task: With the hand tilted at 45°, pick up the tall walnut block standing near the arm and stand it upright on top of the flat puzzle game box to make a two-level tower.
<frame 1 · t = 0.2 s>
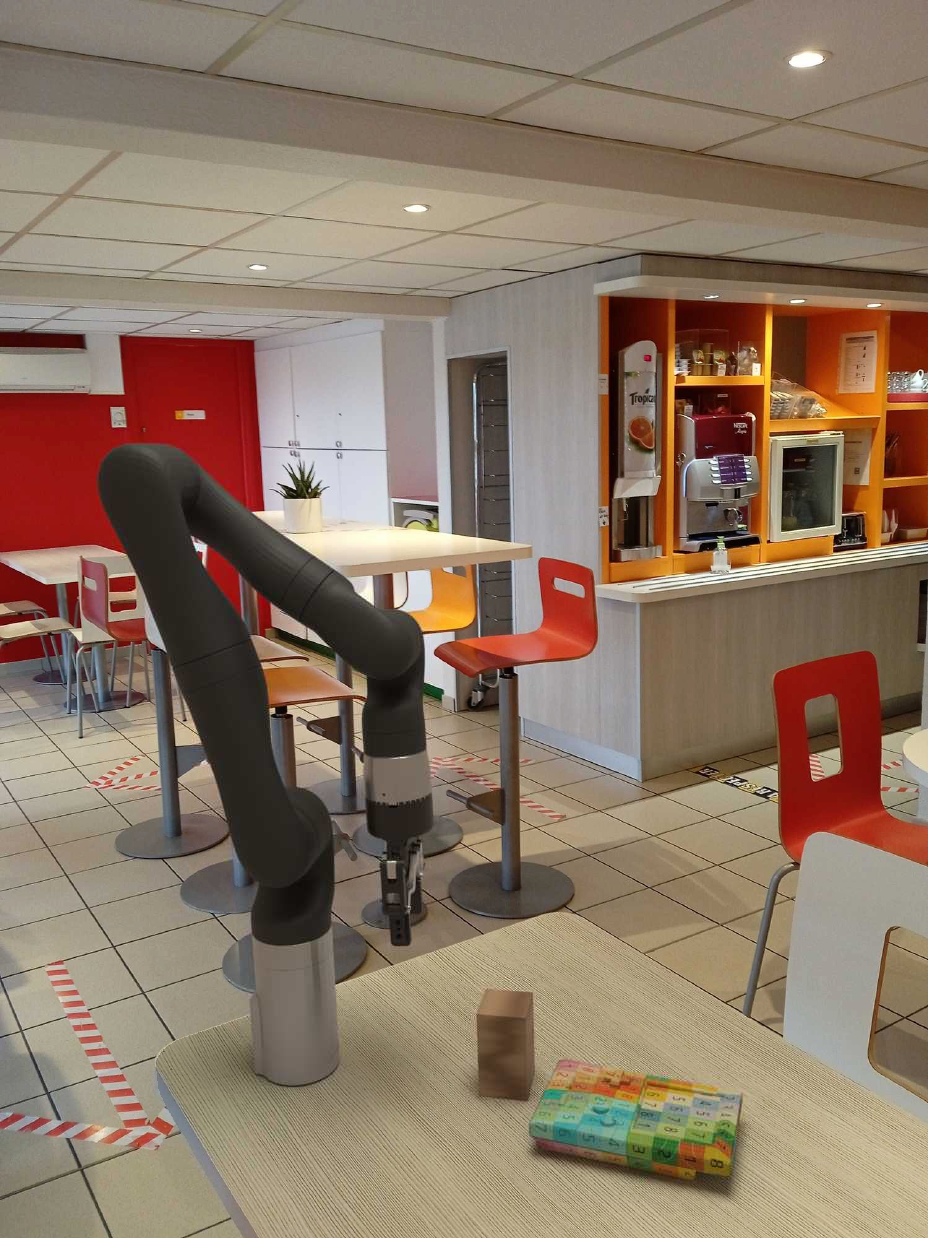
hand: (407, 928, 117), 18 cm above the table, tool pointing down, fingers open, 8 cm apart
puzzle game: (638, 1143, 107), on the table
walnut block: (507, 1084, 117), on the table
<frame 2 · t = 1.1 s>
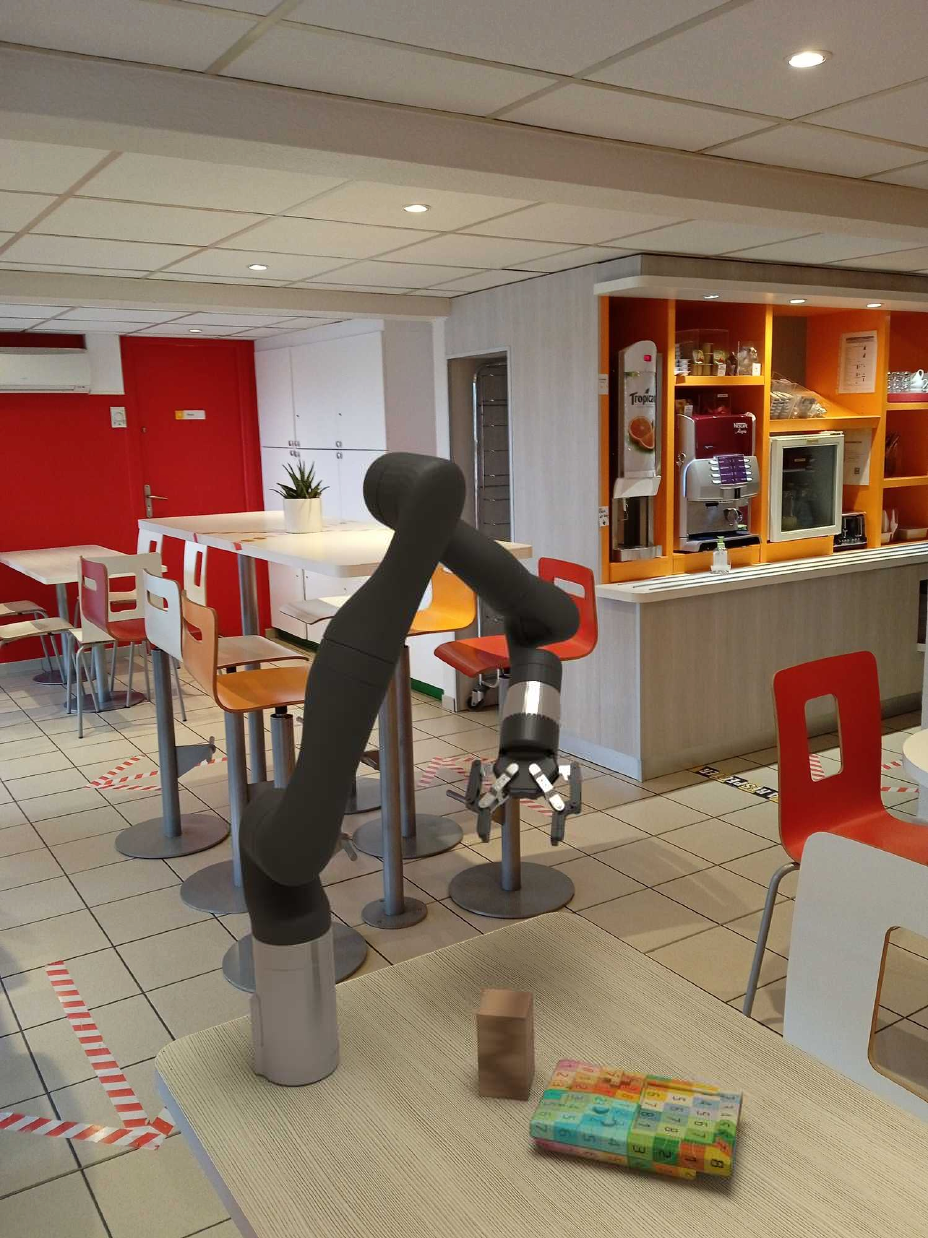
hand: (519, 842, 124), 24 cm above the table, tool tilted 45°, fingers open, 8 cm apart
nothing on the table moved.
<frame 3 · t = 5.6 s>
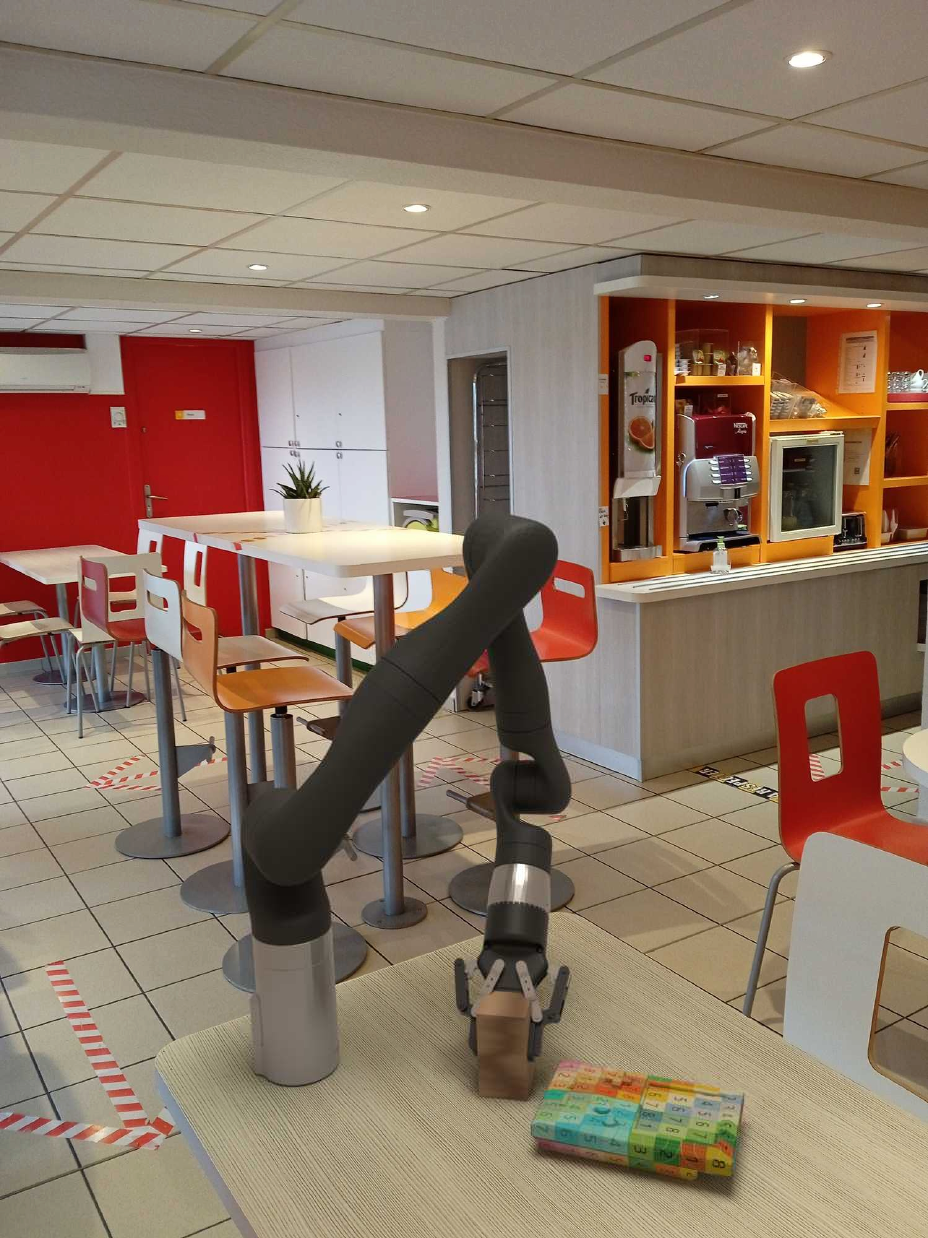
hand: (504, 1057, 115), 4 cm above the table, tool tilted 45°, fingers closed on walnut block, 5 cm apart
walnut block: (507, 1084, 117), on the table, touching gripper
everything else where it was.
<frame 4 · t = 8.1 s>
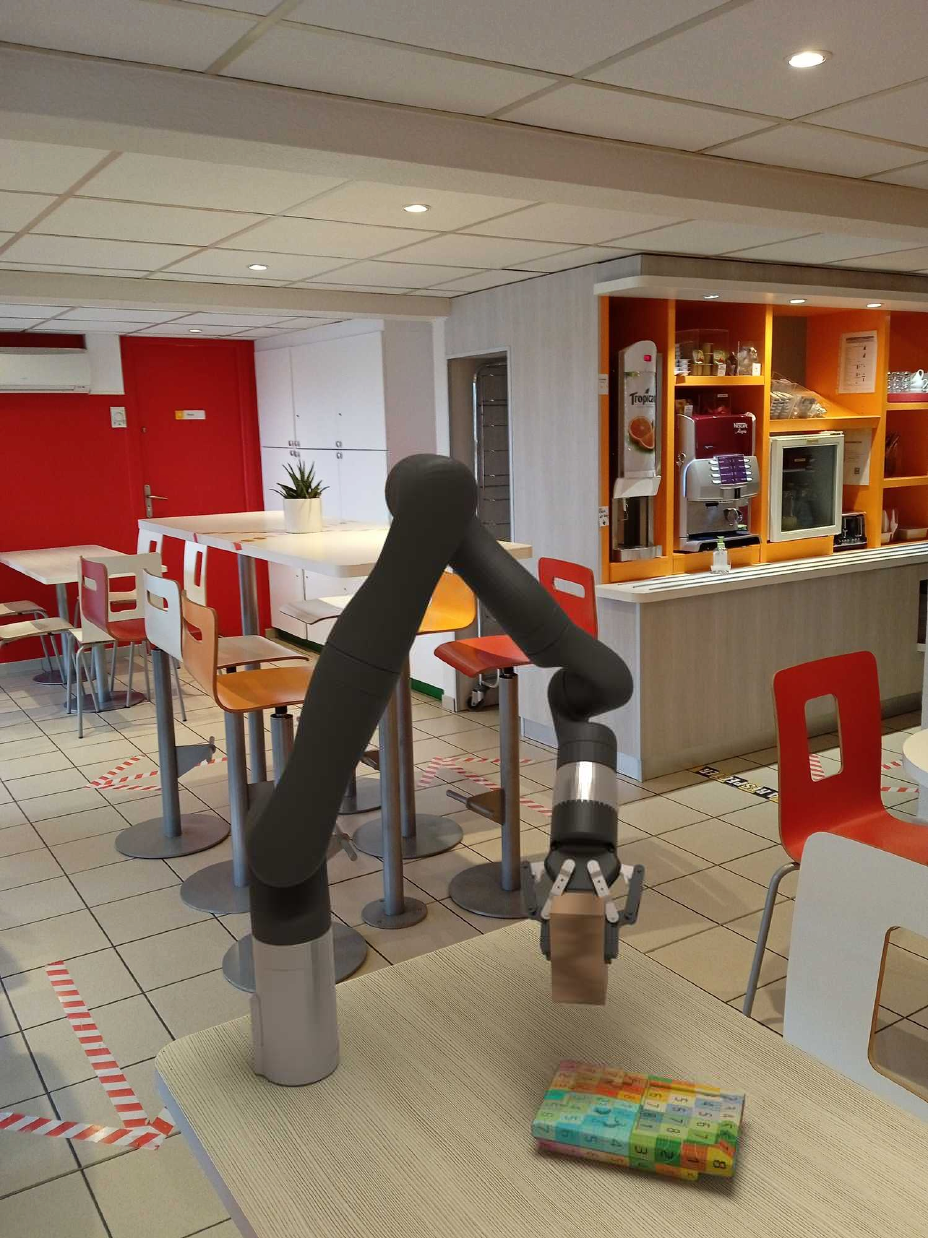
hand: (578, 959, 108), 18 cm above the table, tool tilted 45°, fingers closed on walnut block, 5 cm apart
walnut block: (580, 990, 110), point 14 cm above the table, touching gripper
everything else where it was.
when the fingers open (11 cm above the table, at t = 10.5 s): walnut block drops 2 cm, point 4 cm above the table.
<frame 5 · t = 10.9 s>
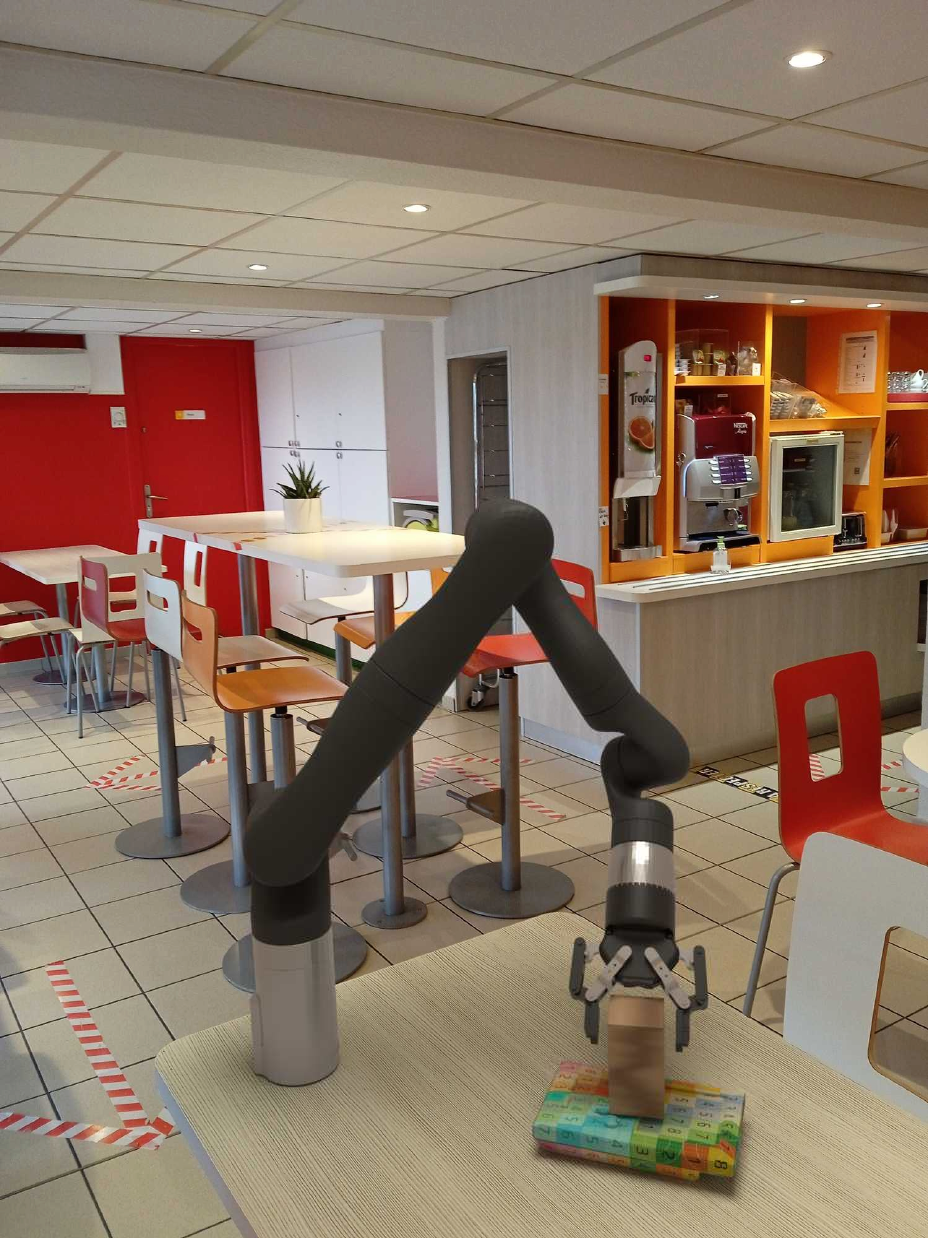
hand: (636, 1047, 104), 11 cm above the table, tool tilted 45°, fingers open, 8 cm apart
walnut block: (637, 1099, 107), point 4 cm above the table
everything else where it was.
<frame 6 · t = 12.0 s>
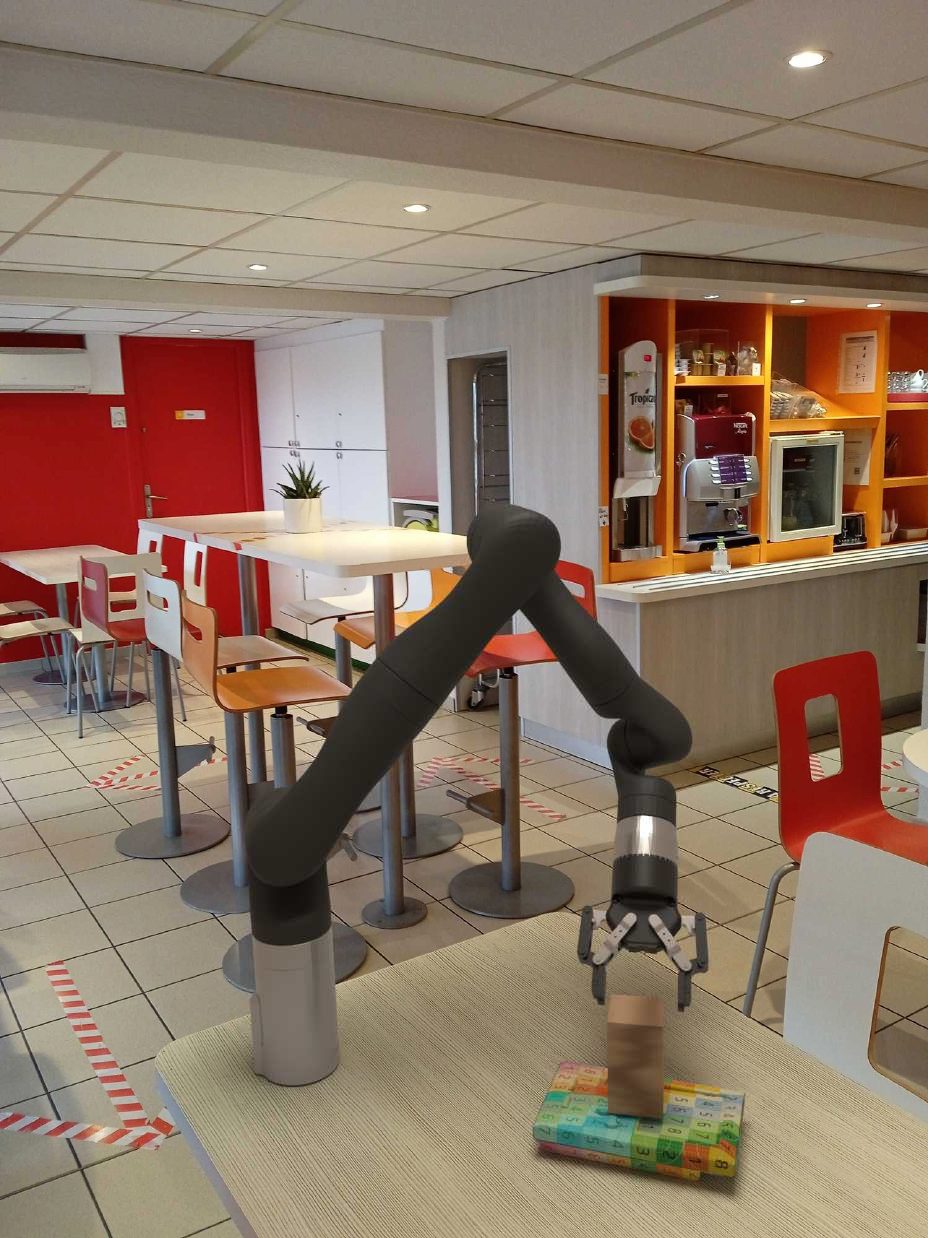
hand: (640, 1007, 111), 12 cm above the table, tool tilted 45°, fingers open, 8 cm apart
puzzle game: (641, 1144, 107), on the table, touching walnut block
walnut block: (636, 1099, 107), point 4 cm above the table, touching puzzle game
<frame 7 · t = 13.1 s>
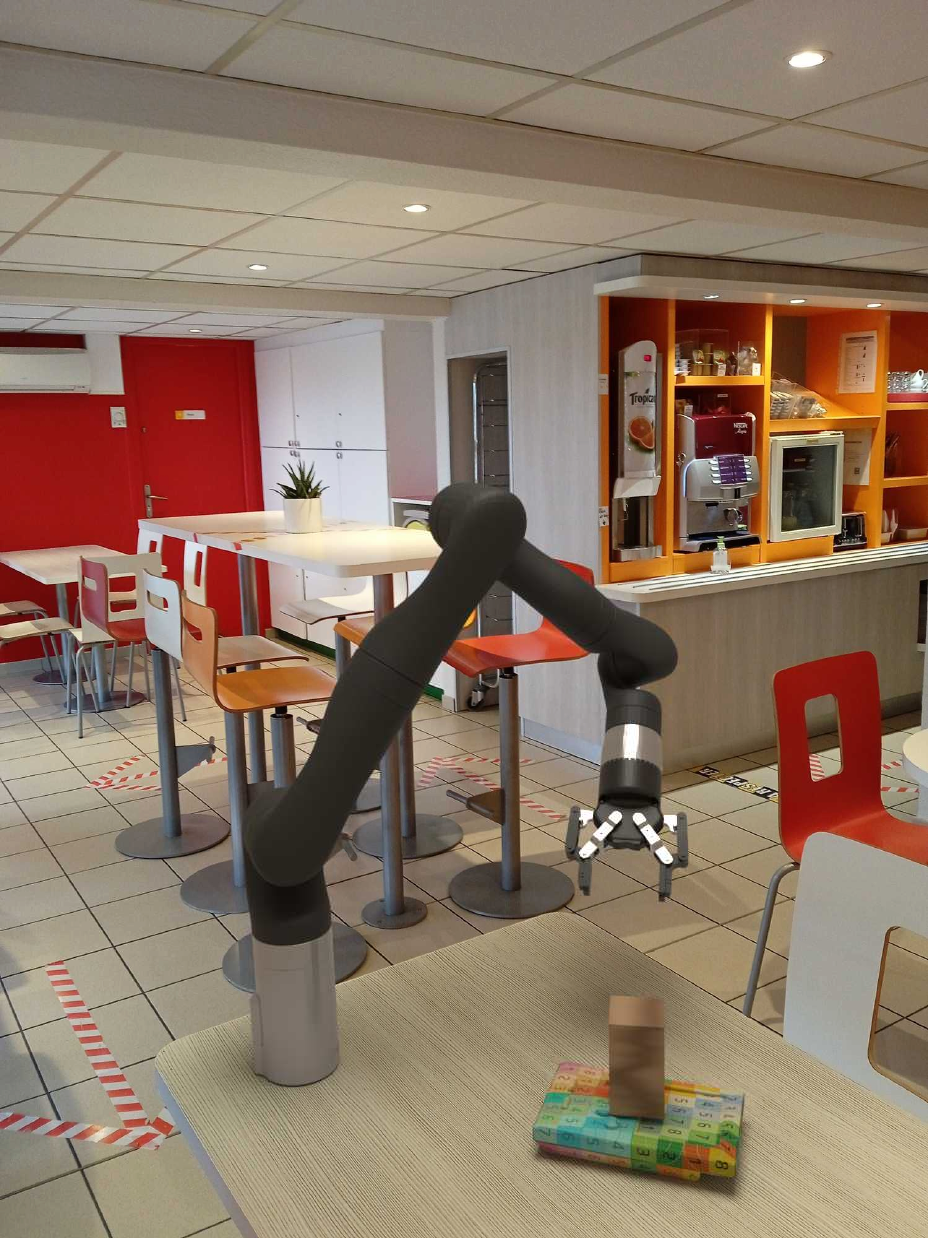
hand: (623, 896, 118), 21 cm above the table, tool tilted 45°, fingers open, 8 cm apart
nothing on the table moved.
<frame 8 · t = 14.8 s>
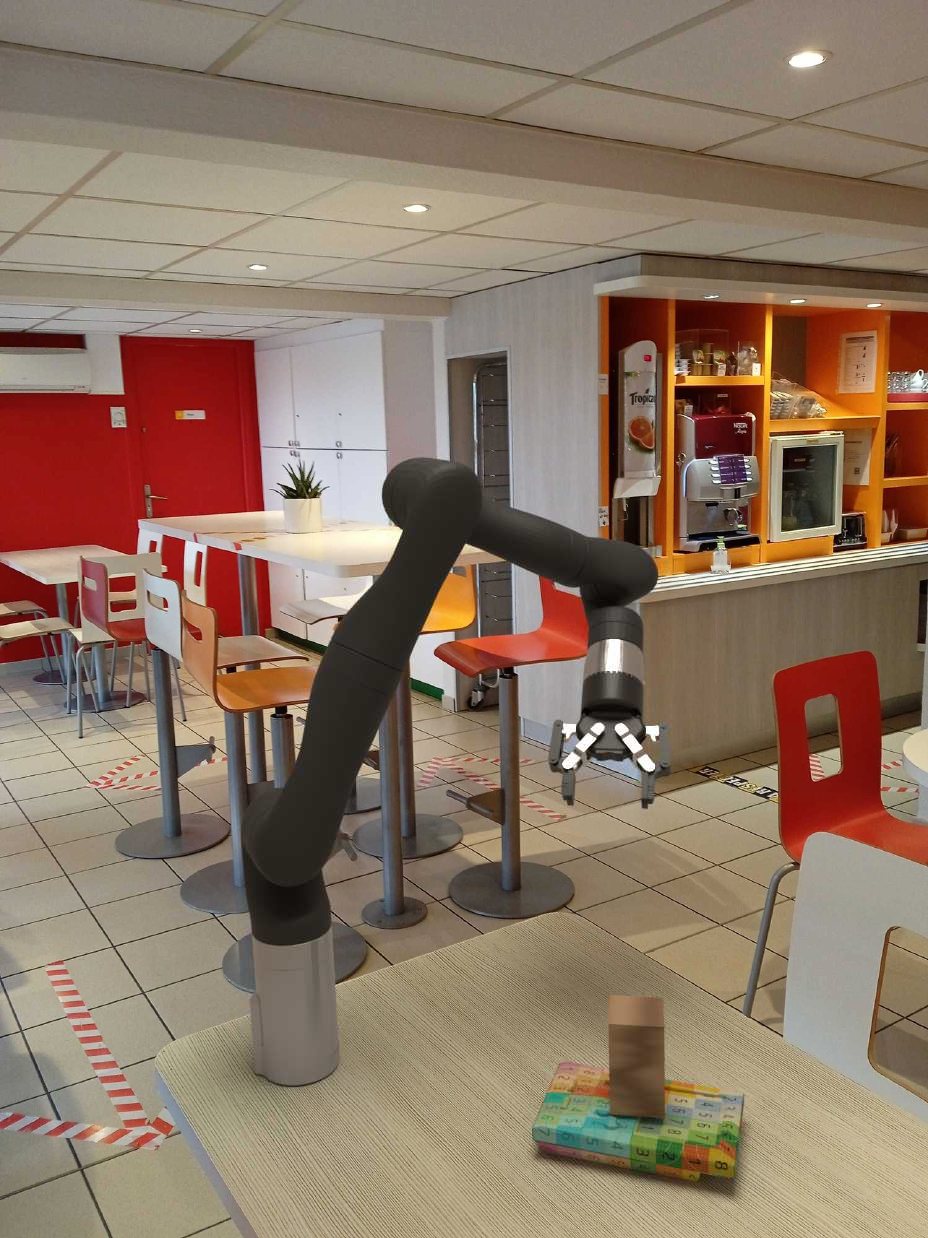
hand: (607, 804, 118), 31 cm above the table, tool tilted 45°, fingers open, 8 cm apart
nothing on the table moved.
at the end: walnut block inside the target area on the puzzle game (0.5 cm from its centre), point 4.9 cm above the puzzle game's base; walnut block tilted 0°; the gripper is holding nothing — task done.
